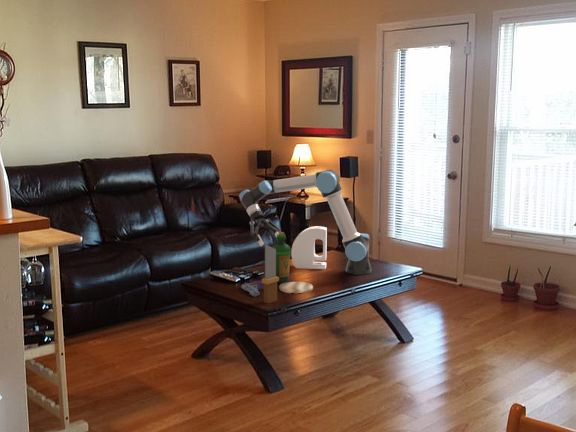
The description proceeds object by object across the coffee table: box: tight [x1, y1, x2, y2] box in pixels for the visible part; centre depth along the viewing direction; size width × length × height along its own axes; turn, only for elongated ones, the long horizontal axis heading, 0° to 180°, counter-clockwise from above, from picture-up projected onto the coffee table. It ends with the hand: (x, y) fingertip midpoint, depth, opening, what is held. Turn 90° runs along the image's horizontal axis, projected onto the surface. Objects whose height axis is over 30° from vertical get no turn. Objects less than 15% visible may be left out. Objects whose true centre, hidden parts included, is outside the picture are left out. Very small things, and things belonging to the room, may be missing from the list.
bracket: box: [290, 225, 328, 270], centre depth 400 cm, size 7×21×25 cm, turn 82°
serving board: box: [279, 281, 314, 295], centre depth 355 cm, size 18×18×2 cm
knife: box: [261, 244, 279, 304], centre depth 331 cm, size 8×4×30 cm, turn 136°
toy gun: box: [240, 280, 264, 297], centre depth 350 cm, size 4×19×15 cm
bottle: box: [271, 231, 292, 284], centre depth 368 cm, size 11×11×28 cm
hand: (271, 243), depth 372 cm, fingers open, 13 cm apart
